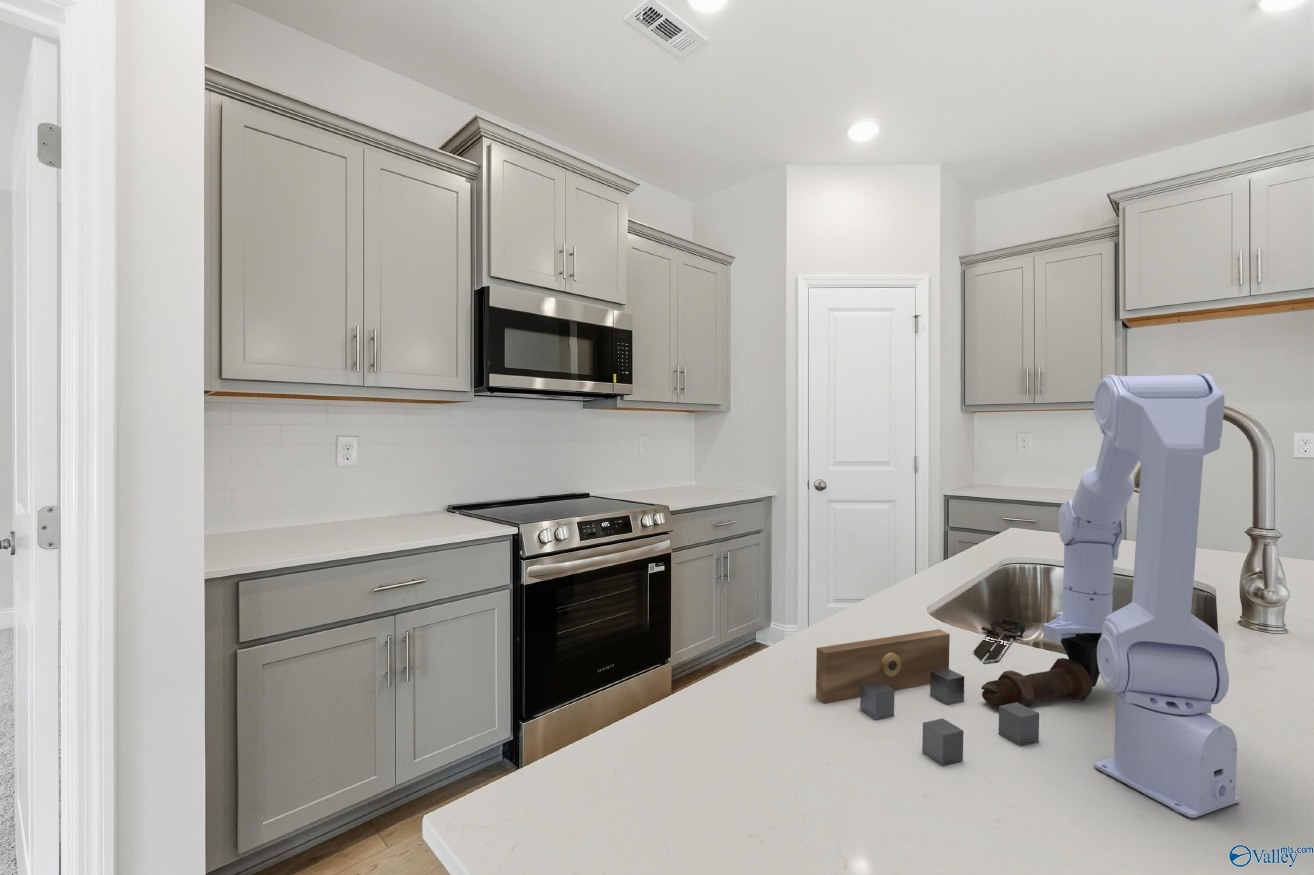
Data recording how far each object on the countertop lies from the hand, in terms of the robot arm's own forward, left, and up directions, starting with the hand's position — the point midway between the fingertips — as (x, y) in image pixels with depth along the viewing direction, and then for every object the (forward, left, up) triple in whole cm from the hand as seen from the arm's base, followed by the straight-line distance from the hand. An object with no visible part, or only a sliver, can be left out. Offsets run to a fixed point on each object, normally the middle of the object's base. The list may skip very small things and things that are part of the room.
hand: (1084, 684), depth 86 cm
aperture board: (+11, +26, -1) cm, 28 cm away
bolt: (+1, +9, -2) cm, 9 cm away
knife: (+19, -6, -2) cm, 20 cm away
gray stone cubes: (0, +26, -1) cm, 26 cm away
